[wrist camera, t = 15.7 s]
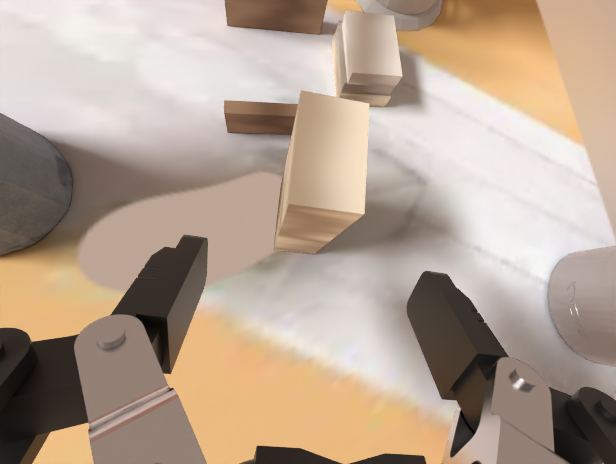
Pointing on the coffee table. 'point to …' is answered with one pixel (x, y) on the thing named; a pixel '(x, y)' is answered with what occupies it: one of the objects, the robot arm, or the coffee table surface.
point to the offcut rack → (274, 16)
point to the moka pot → (29, 186)
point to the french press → (405, 12)
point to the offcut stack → (366, 58)
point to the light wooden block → (323, 173)
